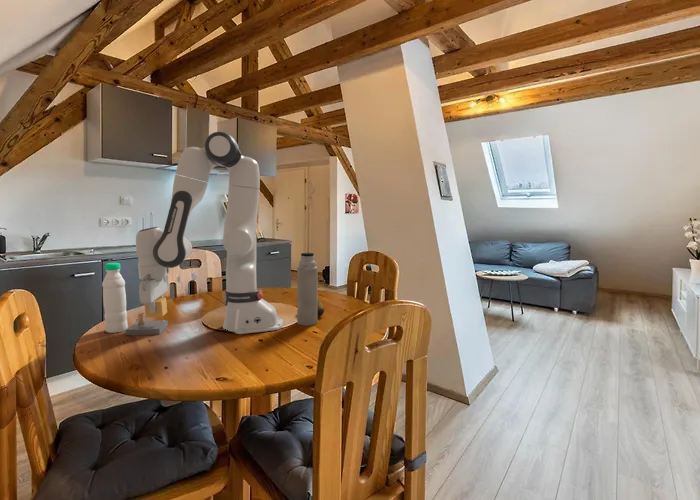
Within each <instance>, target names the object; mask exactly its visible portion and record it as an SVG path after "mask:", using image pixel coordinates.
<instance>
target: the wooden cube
mask: <svg viewBox="0 0 700 500" xmlns="http://www.w3.org/2000/svg"><path fill="white" fill-rule="evenodd" d="M167 304H168V303H167V297H163V298H158V299H156V300H155V307H156V310H157V311H156V312H155V313H150V309H149V307H148V305H147V304H144V312H145V313H144V314H145V318H158V317H164V316H165V315H166V314H167V313H168V306H167Z"/></svg>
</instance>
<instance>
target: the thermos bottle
mask: <svg viewBox="0 0 700 500" xmlns="http://www.w3.org/2000/svg"><path fill="white" fill-rule="evenodd" d="M314 255H315V254H314V253H313V252H302V253H300V258H301V260H299V261H298V266H297V268H296V272H297V273H296V276H297V277H296V282H297V283H296V292H297V295H296V296H297V297H296V300H297V301H296V302H297V303H296V304H297V305H296V306H297V307H296V308H297V314H296V315H297V317H296V319H297V324H298V325H300V326H314V325H316V324H317V323H318V318H319V317H318V315H317V304H318V299H319V297H318V296H319V295H318V288H319V287H318V285H319V284H318V283H319V282H318V281H319V280H318V278H319V277H318V274H319V273H318V266H317V261H315V260H314Z"/></svg>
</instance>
